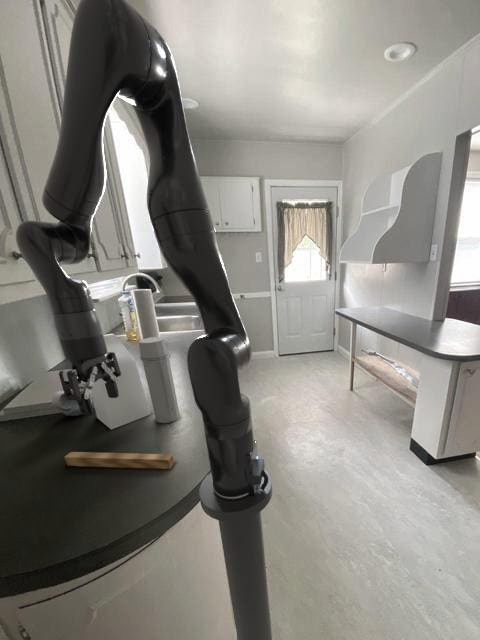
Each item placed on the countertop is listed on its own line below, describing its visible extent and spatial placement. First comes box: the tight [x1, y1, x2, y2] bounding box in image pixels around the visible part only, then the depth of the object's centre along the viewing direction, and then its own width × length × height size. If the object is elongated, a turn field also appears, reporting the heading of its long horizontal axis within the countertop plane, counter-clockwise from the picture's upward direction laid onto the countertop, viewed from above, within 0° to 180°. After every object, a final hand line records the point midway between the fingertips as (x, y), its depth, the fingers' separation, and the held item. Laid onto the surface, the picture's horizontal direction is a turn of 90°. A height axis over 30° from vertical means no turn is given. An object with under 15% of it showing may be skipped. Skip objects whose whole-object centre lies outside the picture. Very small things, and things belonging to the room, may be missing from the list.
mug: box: [51, 388, 94, 417], centre depth 96 cm, size 10×12×10 cm
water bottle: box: [138, 336, 181, 424], centre depth 88 cm, size 9×8×25 cm
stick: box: [64, 451, 175, 470], centre depth 73 cm, size 26×2×3 cm, turn 85°
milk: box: [90, 333, 152, 431], centre depth 91 cm, size 12×12×26 cm
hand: (102, 405), depth 67 cm, fingers open, 8 cm apart
